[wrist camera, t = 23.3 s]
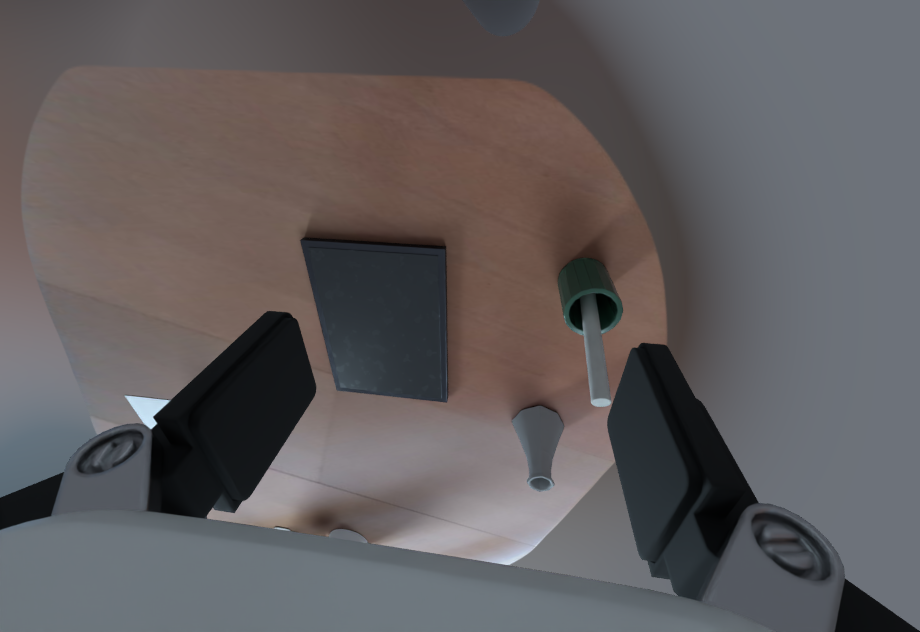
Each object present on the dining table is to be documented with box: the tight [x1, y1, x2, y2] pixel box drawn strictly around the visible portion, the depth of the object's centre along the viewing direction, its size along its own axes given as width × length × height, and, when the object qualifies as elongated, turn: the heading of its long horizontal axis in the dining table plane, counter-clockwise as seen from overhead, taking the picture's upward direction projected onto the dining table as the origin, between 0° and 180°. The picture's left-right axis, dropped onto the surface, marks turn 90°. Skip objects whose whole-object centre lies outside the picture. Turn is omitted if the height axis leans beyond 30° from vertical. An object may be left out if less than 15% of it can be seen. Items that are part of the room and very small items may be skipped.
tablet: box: [300, 238, 448, 402], centre depth 48 cm, size 24×17×1 cm
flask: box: [512, 406, 564, 492], centre depth 50 cm, size 7×7×10 cm
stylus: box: [580, 293, 611, 407], centre depth 35 cm, size 2×2×15 cm
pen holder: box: [558, 258, 623, 335], centre depth 38 cm, size 5×5×7 cm
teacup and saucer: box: [124, 395, 171, 429], centre depth 66 cm, size 9×8×4 cm
